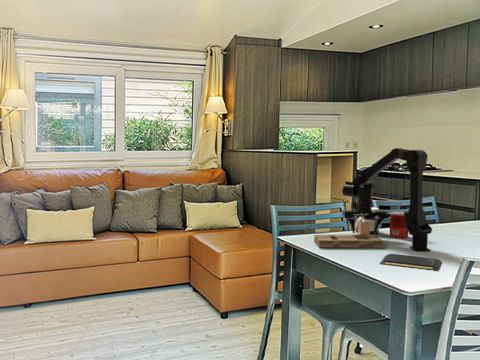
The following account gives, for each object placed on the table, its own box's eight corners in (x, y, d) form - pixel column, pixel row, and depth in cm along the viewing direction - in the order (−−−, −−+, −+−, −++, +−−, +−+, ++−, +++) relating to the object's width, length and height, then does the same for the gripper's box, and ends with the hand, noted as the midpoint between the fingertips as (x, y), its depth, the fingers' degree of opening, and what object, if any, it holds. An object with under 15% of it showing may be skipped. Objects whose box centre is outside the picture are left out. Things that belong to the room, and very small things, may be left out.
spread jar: (379, 235, 217) (380, 210, 216) (354, 234, 219) (354, 209, 218) (377, 230, 228) (378, 206, 227) (353, 229, 231) (354, 205, 230)
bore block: (383, 248, 192) (383, 240, 192) (319, 248, 191) (319, 240, 191) (374, 241, 204) (374, 234, 203) (314, 241, 203) (314, 234, 203)
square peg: (369, 239, 208) (369, 223, 207) (360, 239, 208) (360, 223, 207) (366, 237, 212) (367, 222, 211) (357, 237, 212) (358, 222, 211)
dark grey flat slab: (443, 257, 172) (438, 268, 158) (442, 263, 172) (438, 273, 159) (386, 251, 181) (377, 260, 168) (386, 256, 181) (377, 265, 168)
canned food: (410, 238, 210) (411, 214, 209) (392, 238, 210) (393, 214, 209) (404, 235, 218) (405, 211, 217) (387, 234, 218) (388, 211, 217)
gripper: (380, 196, 216) (379, 229, 218) (339, 196, 216) (338, 229, 217) (388, 199, 205) (387, 234, 207) (345, 199, 205) (344, 234, 206)
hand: (363, 233), depth 209 cm, fingers open, 9 cm apart
